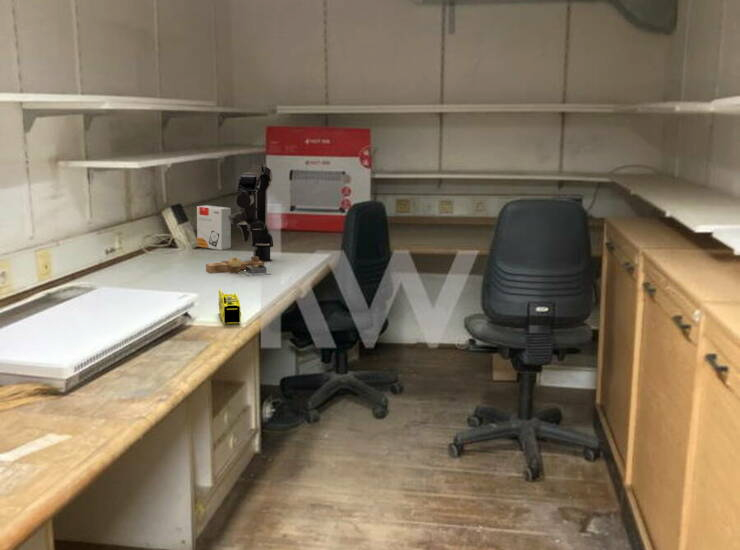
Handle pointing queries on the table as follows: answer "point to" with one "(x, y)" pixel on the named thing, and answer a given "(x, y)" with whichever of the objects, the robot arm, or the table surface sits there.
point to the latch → (234, 262)
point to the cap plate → (256, 269)
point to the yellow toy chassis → (229, 308)
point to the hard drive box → (213, 227)
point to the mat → (256, 274)
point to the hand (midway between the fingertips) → (249, 243)
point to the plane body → (227, 268)
